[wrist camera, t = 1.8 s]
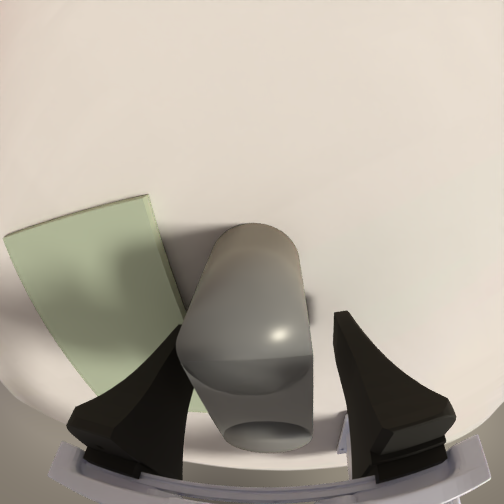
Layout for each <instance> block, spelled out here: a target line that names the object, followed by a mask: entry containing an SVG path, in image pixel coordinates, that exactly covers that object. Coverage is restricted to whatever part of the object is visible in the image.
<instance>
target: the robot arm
mask: <svg viewBox="0 0 504 504" xmlns="http://www.w3.org/2000/svg"><path fill="white" fill-rule="evenodd" d="M181 326H182V324H178V326H177V327H176V328H175V329H174V330H173V331H172V332H171V333H170V334H169V336H168V337H167V338H166V339H165V340H164V341H163V342H162V343H161V345H160V346H159V347H158V348H157V349H156V350H155V351H154V352H153V353H152V354H151V355H150V356H149V357H148V358H147V359H146V360H145V361H144V362H143V363H142V364H141V365H140V366H139V367H138V368H137V369H136V370H135V371H134V372H133V373H131V374H130V375H129V376H128V377H127V378H125V379H124V380H123V381H121V382H120V383H118V384H117V385H116V386H114V387H113V388H111V389H110V390H108V391H107V392H105V393H103V394H101V395H100V396H98V397H96V398H94V399H92V400H90V401H88V402H86V403H83V404H81V405H79V406H76V407H75V409H74V411H73V413H72V415H71V417H70V419H69V421H68V423H67V425H66V426H67V429H68V430H69V431H70V433H71V434H73V435H74V436H75V437H76V438H77V439H78V440H80V441H81V442H82V443H84V444H85V445H86V446H87V449H86V451H83V450H82V449H80V448H78V447H77V446H74V445H72V444H70V443H67V442H65V441H62V442H61V444H60V446H59V449H58V451H57V453H56V455H55V458H54V460H53V463H52V465H51V467H50V470H49V472H48V477H50V478H52V479H53V480H55V481H57V482H58V483H60V484H62V485H64V486H65V487H67V488H69V489H71V490H73V491H74V492H76V493H78V494H81V495H82V496H84V497H87V498H89V499H91V500H93V501H95V502H98V503H100V504H213V503H204V502H198V501H191V500H186V499H184V498H183V497H181V496H187V497H193V498H200V499H207V500H215V501H225V502H238V503H298V502H311V501H316V502H315V503H314V504H461V502H460V498H459V497H460V496H462V495H464V494H466V493H468V492H470V491H472V490H474V489H475V488H477V487H479V486H480V485H482V484H484V483H485V482H487V481H489V480H490V479H491V475H490V471H489V468H488V464H487V461H486V457H485V454H484V451H483V448H482V445H481V442H480V439H479V436H478V435H477V434H476V435H474V436H472V437H470V438H467V439H465V440H463V441H461V442H459V443H457V444H455V445H453V446H452V447H451V448H449V449H448V450H447V452H446V450H445V447H444V444H445V443H446V438H445V435H444V434H445V433H446V432H447V431H448V430H449V429H450V428H451V426H452V425H453V424H454V422H455V420H456V415H455V412H454V409H453V407H452V405H451V403H450V402H449V400H448V398H446V397H444V396H442V395H440V394H438V393H436V392H434V391H432V390H430V389H428V388H426V387H425V386H423V385H421V384H420V383H418V382H417V381H415V380H414V379H412V378H411V377H410V376H408V375H407V374H405V373H404V372H403V371H402V370H400V369H399V368H398V367H397V366H396V365H394V364H393V363H392V362H391V361H390V360H389V359H388V358H387V357H386V356H385V355H384V354H383V353H382V352H381V351H380V350H379V349H378V348H377V347H376V346H375V345H374V344H373V343H372V341H371V340H370V339H369V338H368V337H367V336H366V334H365V333H364V332H363V331H362V329H361V328H360V327H359V325H358V324H357V323H356V321H355V320H354V319H353V317H352V316H351V314H350V313H349V312H348V311H341V312H334V333H333V346H334V353H335V360H336V365H337V369H338V372H339V376H340V380H341V384H342V388H343V392H344V396H345V400H346V405H347V412H348V414H346V416H345V419H344V423H343V427H342V432H341V436H340V439H339V443H338V447H337V454H343V453H346V454H347V463H348V473H349V480H348V481H341V482H335V483H327V484H319V485H308V486H296V487H235V486H234V487H233V486H220V485H211V484H203V483H195V482H188V481H182V466H183V445H184V435H185V426H186V419H187V413H188V409H189V405H190V401H191V397H192V394H193V390H194V387H193V385H192V383H191V381H190V380H189V378H188V376H187V374H186V372H185V370H184V368H183V366H182V364H181V362H180V360H179V358H178V355H177V351H176V340H177V336H178V334H179V331H180V329H181ZM174 494H177V495H174ZM178 495H181V496H178Z"/></svg>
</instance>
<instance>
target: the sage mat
mask: <svg viewBox="0 0 504 504" xmlns="http://www.w3.org/2000/svg"><path fill="white" fill-rule="evenodd" d="M3 241H4V243H5V246H6V248H7V251H8V253H9V256H10V258H11V260H12V262H13V265H14V267H15V269H16V271H17V273H18V276H19V278H20V280H21V282H22V284H23V286H24V288H25V290H26V292H27V294H28V296H29V297H30V299H31V301H32V303H33V305H34V307H35V308H36V310H37V312H38V314H39V315H40V317H41V319H42V320H43V322H44V324H45V325H46V327H47V329H48V330H49V332H50V333H51V335H52V336H53V338H54V339H55V341H56V342H57V344H58V345H59V347H60V348H61V350H62V351H63V353H64V354H65V355H66V357H67V358H68V360H69V361H70V362H71V364H72V365H73V366H74V368H75V369H76V370H77V372H78V373H79V374H80V375H81V377H82V378H83V379H84V381H85V382H86V383H87V384H88V385H89V387H90V388H91V389H92V390H93V391H94V393H95V394H96V395H97V396H100V395H101V394H103V393H105V392H107V391H108V390H110V389H111V388H113V387H114V386H116V385H117V384H118V383H120V382H121V381H123V380H124V379H125V378H127V377H128V376H129V375H130V374H131V373H133V372H134V371H135V370H136V369H137V368H138V367H139V366H140V365H141V364H142V363H143V362H144V361H145V360H146V359H147V358H148V357H149V356H150V355H151V354H152V353H153V352H154V351H155V350H156V349H157V348H158V347H159V346H160V345H161V343H162V342H163V341H164V340H165V339H166V338H167V337H168V336H169V334H170V333H171V332H172V331H173V330H174V329H175V328H176V327H177V326H178V324H182V323H183V321H184V318H185V316H186V310H185V307H184V305H183V302H182V299H181V297H180V294H179V291H178V288H177V285H176V282H175V280H174V277H173V274H172V271H171V268H170V265H169V262H168V259H167V256H166V253H165V249H164V246H163V243H162V240H161V237H160V233H159V230H158V227H157V223H156V220H155V216H154V213H153V209H152V206H151V202H150V199H149V195H148V194H147V195H142V196H138V197H134V198H129V199H125V200H121V201H117V202H113V203H109V204H105V205H102V206H98V207H94V208H90V209H87V210H83V211H80V212H76V213H73V214H69V215H66V216H63V217H59V218H56V219H53V220H50V221H47V222H43V223H40V224H37V225H34V226H31V227H28V228H25V229H23V230H20V231H17V232H14V233H11V234H9V235H7V236H6V237H4V238H3ZM188 412H202V413H208V411H207V410H206V408H205V406H204V405H203V403H202V401H201V399H200V398H199V396H198V394H197V392H196V390H195V389H194V390H193V394H192V397H191V401H190V405H189V409H188Z"/></svg>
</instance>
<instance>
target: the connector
mask: <svg viewBox="0 0 504 504" xmlns="http://www.w3.org/2000/svg"><path fill="white" fill-rule="evenodd" d="M176 351H177V355H178V358H179V360H180V362H181V364H182V366H183V368H184V370H185V372H186V374H187V376H188V378H189V380H190V381H191V383H192V385H193V387H194V389H195V390H196V392H197V394H198V396H199V398H200V399H201V401H202V403H203V405H204V406H205V408H206V410H207V411H208V413H209V415H210V416H211V418H212V420H213V421H214V423H215V425H216V426H217V428H218V429H219V431H220V433H221V434H222V436H223V437H224V439H225V440H226V441H227V442H228V443H229V444H231V445H233V446H235V447H237V448H240V449H243V450H247V451H251V452H259V453H280V452H287V451H292V450H295V449H298V448H301V447H303V446H305V445H306V444H308V443H309V442H310V441H311V439H312V432H313V350H312V342H311V335H310V327H309V320H308V313H307V306H306V299H305V292H304V285H303V279H302V273H301V266H300V260H299V255H298V251H297V249H296V247H295V245H294V243H293V242H292V241H291V239H290V238H289V237H288V236H287V235H285V234H284V233H283V232H282V231H280V230H278V229H276V228H274V227H272V226H269V225H265V224H260V223H247V224H242V225H239V226H236V227H234V228H231V229H230V230H228V231H227V232H225V233H224V234H223V235H222V236H221V237H220V238H219V239H218V240H217V242H216V243H215V245H214V247H213V250H212V252H211V254H210V257H209V259H208V262H207V264H206V266H205V269H204V271H203V274H202V276H201V278H200V281H199V283H198V286H197V288H196V291H195V293H194V296H193V298H192V301H191V303H190V306H189V308H188V311H187V313H186V316H185V318H184V321H183V323H182V326H181V329H180V331H179V334H178V336H177V340H176Z"/></svg>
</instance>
